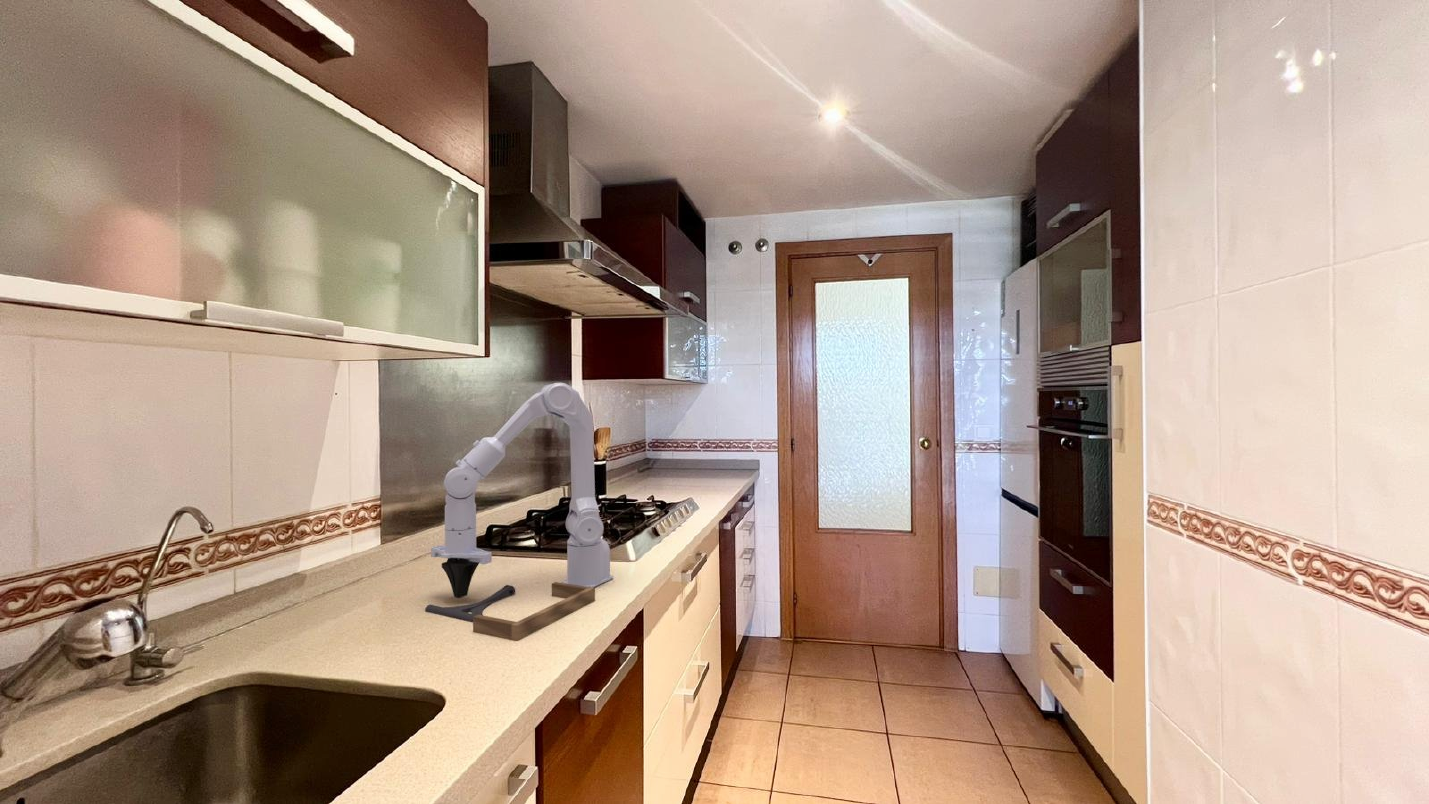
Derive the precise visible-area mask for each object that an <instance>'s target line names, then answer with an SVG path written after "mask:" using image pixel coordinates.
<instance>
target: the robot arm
mask: <svg viewBox="0 0 1429 804" xmlns="http://www.w3.org/2000/svg"><path fill="white" fill-rule="evenodd" d="M549 414H551V415H554V416H556V417H558V418H559V419H560V420H562V421H563V422H564V423H565V424H566V425H568V426H569V443H570V444H569V445H570V447H569V448H570V450H569V451H570V482H571V484H570V485H571V486H570V488H571V497H570V498H571V499H570V502H569V510H568V511H569V512H568V514H567V517H566V519H565V528H566V530H567V532H568V533H569V534H570V535H569V538H568V539H567V540H566V541H567V543H566V544H567V547H566V548H567V549H566V550H567V554H566V555H567V559H566V560H567V565H566V567H567V569H566V571H567V572H566V573H567V574H566V575H567V577H566V578H567V579H566V580H563V581H561V582H559V583H566V584H573V585H579V586H586V587H593V588H596V587H598V586H599V585H602V584H604V583H606V582H608V581H610V580H612V579H613V578H614V575H611V549H610V546H609V543H608V542H607V541H606V540H605V539H603V538H602V536H603V533H604V523H603V521H602V519H601V517H600V511H599V510H600V509H599V506H598V502H597V500H596V488H595V487H596V485H595V483H596V481H595V450H594V449H595V447H594V446H595V445H594V442H595V441H594V440H595V439H594V418H593V415H592V413H591V411H590V410H589V408H588V406H587V405H586V404H585V402H584V401H583V399H582V397H581V396H580V393H579V392H578V391H577V390H576V389H574V388H573V387H572V386H571V385H568V384H567V383H564V382H555V383H551V384H546V385H544V386H543V387H542V388H540V390H539V391H538V392H536V393H535V394H533V395H532V396H531V397H530V398H528V399H527V400H526V401H525V402H524V403H523V404H522V405H521V406H520V407H519V408H518V409H517V410H516V412H515V413H514V414H513V415H511V417H510V418H509V419H508V420H507V422H505V424H504V425H503V426H502V427H501V428H500V429H499V430H498V431H497V433H495V434H494V436H490V437H488V436H486V437H482V439H481V440H480V441H479V439H478V440H477V439H476V441H475V442H473V443H472V446H473V448H471V450H470V451H469V452H468V453H467V454H466V455H464V457H463V458H462V459H458V460H457V461H456V462H455V465H457V467H453V468H451V469H450V470H449V471H448V472H447V473H446V475H445V476H444V480H443V486H444V488H445V490H446V495H445V498H444V499H445V500H444V501H445V505H444V545H436V546H431V547H430V557H431V558H442V559H446V561H445V562H442V563H441V568H442V569H443V571H444V572H445V574H446V576H447V578H448V580H449V583H450V586H451V590H452V594H453V597H454V598H456V599H461V598H464V597H466V596H468V592H469V589H470V585H471V581H472V578H473V576H474V574H475V571H476V570H477V567H478V566H479V564H480V565H483V566H484V565H487V564H490V563H492V561H493V560H492V559H493V558H492V555H493V553H492V552H491V551H487V550H484V549H481V548H478V547H477V504H476V502H475V501H476V497H475V496H476V494H475V492H477V489H478V487H479V481H482V480H484V479H486V477H487V476H488V475H489V474H490V473H491V471H493V470H494V469H495V467H496V466H497V465H499V463H501V461H502V460H503V459H504V458H505V457H506V447H507V446H508V445H509V444H510V443H511V442H513V440H514V439H516V437H517V436H518V435H519V434H520V433H521V432H522V431H523V430H524V429H526V427H528V425H529V424H530V423H531V422H533V421H534V420H535V419H539V418H543V417H546V416H549Z"/></svg>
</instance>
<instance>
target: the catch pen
mask: <svg viewBox="0 0 1429 804" xmlns="http://www.w3.org/2000/svg"><path fill="white" fill-rule="evenodd" d="M551 596H552V597H556V598H563V599H562V600H560V601H558V602H556V603H554V604H551V605H549V606H547V607H545V608H543V609H541V610H539V611H537V612H535V613H533V614H530V615H528V616H525V617H524V618H522V619H520V620H518V621H514V620H509V619H502V618H499V617H492V616H487V615H484V614H483V615H476V616H474V617H473V622H472V632H473V633H478V634H483V635H488V636H493V637H496V638H497V637H498V638H501V639H502V638H503V639H507V640H512V641H516V642H518V641H520V640H521V639H523V638H526V637H527V636H529V635H531V634H533V633H536V632H537V631H538V630H540V629H542V628H545V627H546V626H549V625H550V624H552V623H555V622H556V621H558V620H560V619H562V618H564V617H566V616H568V615H569V614H572V613H573V612H575V611H577V610H579V609H581V608H583V607H586V606H587V605H590V604H591V603H593V602H595V601H596V587H586V586H579V585H573V584H566V583H560V582H558V581H554V582H552V583H551Z"/></svg>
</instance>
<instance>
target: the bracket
mask: <svg viewBox="0 0 1429 804" xmlns="http://www.w3.org/2000/svg"><path fill="white" fill-rule="evenodd" d="M515 594H516V588H515V587H514V586H513V585H510V584H505V585H504V586H503V587H502V588H501V589H499V590H497V591H496V592H494V594H492V595H490V596H487V597H486V598H485V599H482V600H481V601H478V602H474V603H470V604H465V605H457V606H447V607H446V606H439V605H435V604H430V603H429V604H428V605H426V606H425V609H424V612H426V613H430V614H435V615H439V616H443V617H448V618H451V619H456V620H460V621H461V620H462V621H465V622H468V623H473V617H474V616H476V615H483V616H484V614H483V611H484V610H485V609H486V608H487V607H488V606H490V605H491V604H494V603H497V602H499V601H501V600H504V599H507V598H509V597H512V596H515Z"/></svg>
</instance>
